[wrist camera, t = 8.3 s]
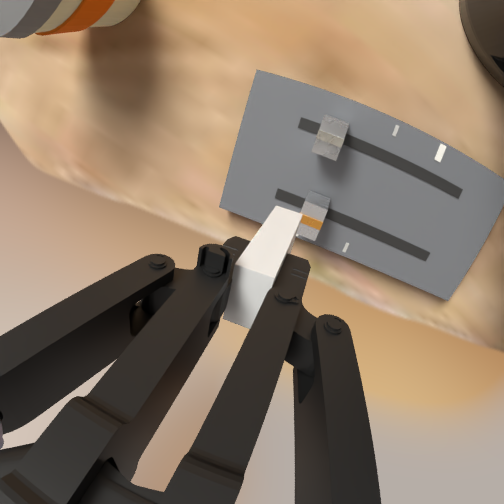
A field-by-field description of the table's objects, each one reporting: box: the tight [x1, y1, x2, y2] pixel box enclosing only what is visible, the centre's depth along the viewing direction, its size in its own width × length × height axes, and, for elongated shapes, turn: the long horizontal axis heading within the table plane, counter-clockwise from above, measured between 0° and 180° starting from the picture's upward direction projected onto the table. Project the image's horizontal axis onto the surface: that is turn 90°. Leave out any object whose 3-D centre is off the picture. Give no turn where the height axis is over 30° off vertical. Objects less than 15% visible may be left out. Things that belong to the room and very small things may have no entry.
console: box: [219, 70, 504, 301], centre depth 28 cm, size 26×14×2 cm, turn 73°
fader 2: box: [312, 115, 349, 161], centre depth 24 cm, size 2×3×3 cm, turn 163°
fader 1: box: [297, 190, 330, 241], centre depth 27 cm, size 2×3×3 cm, turn 163°
